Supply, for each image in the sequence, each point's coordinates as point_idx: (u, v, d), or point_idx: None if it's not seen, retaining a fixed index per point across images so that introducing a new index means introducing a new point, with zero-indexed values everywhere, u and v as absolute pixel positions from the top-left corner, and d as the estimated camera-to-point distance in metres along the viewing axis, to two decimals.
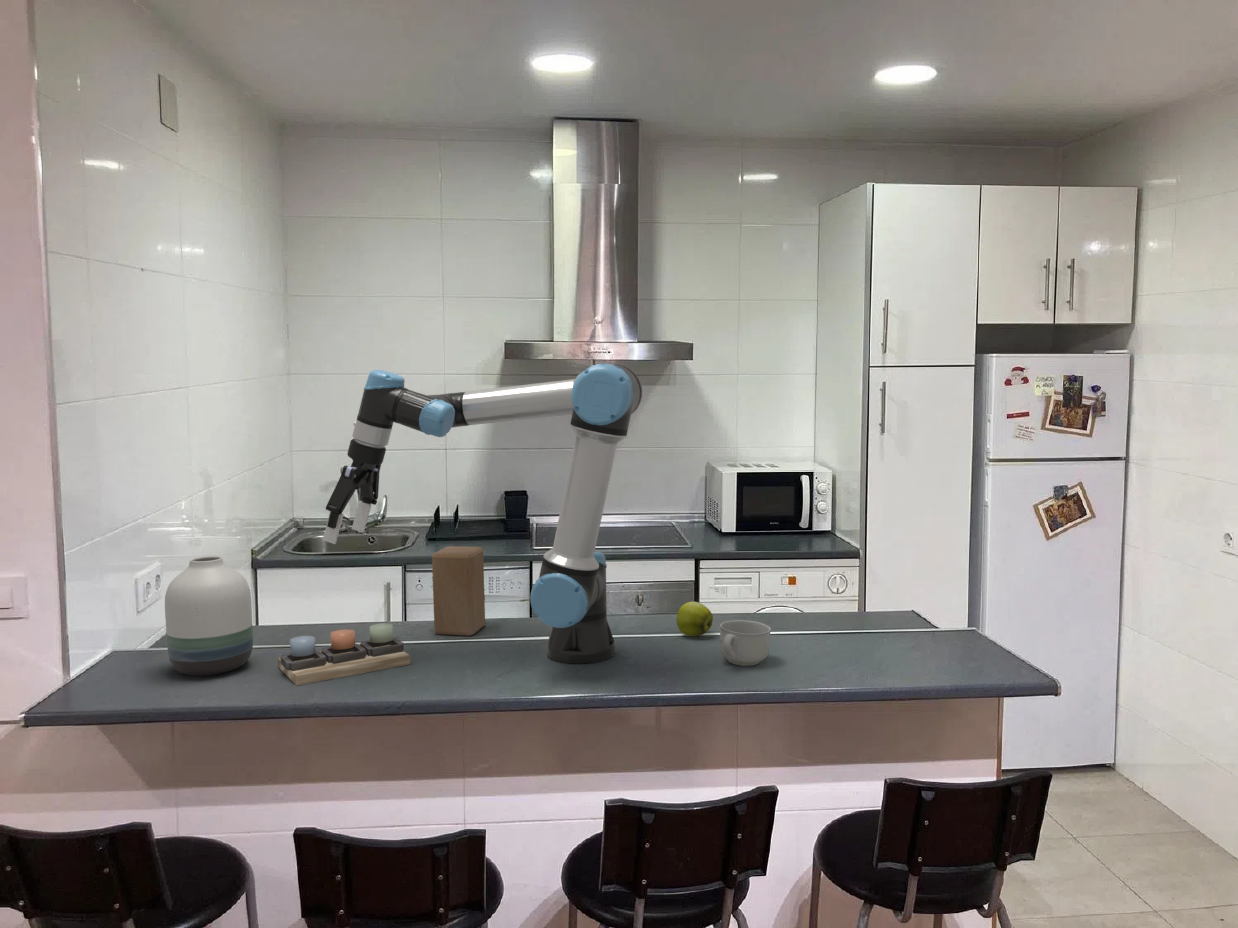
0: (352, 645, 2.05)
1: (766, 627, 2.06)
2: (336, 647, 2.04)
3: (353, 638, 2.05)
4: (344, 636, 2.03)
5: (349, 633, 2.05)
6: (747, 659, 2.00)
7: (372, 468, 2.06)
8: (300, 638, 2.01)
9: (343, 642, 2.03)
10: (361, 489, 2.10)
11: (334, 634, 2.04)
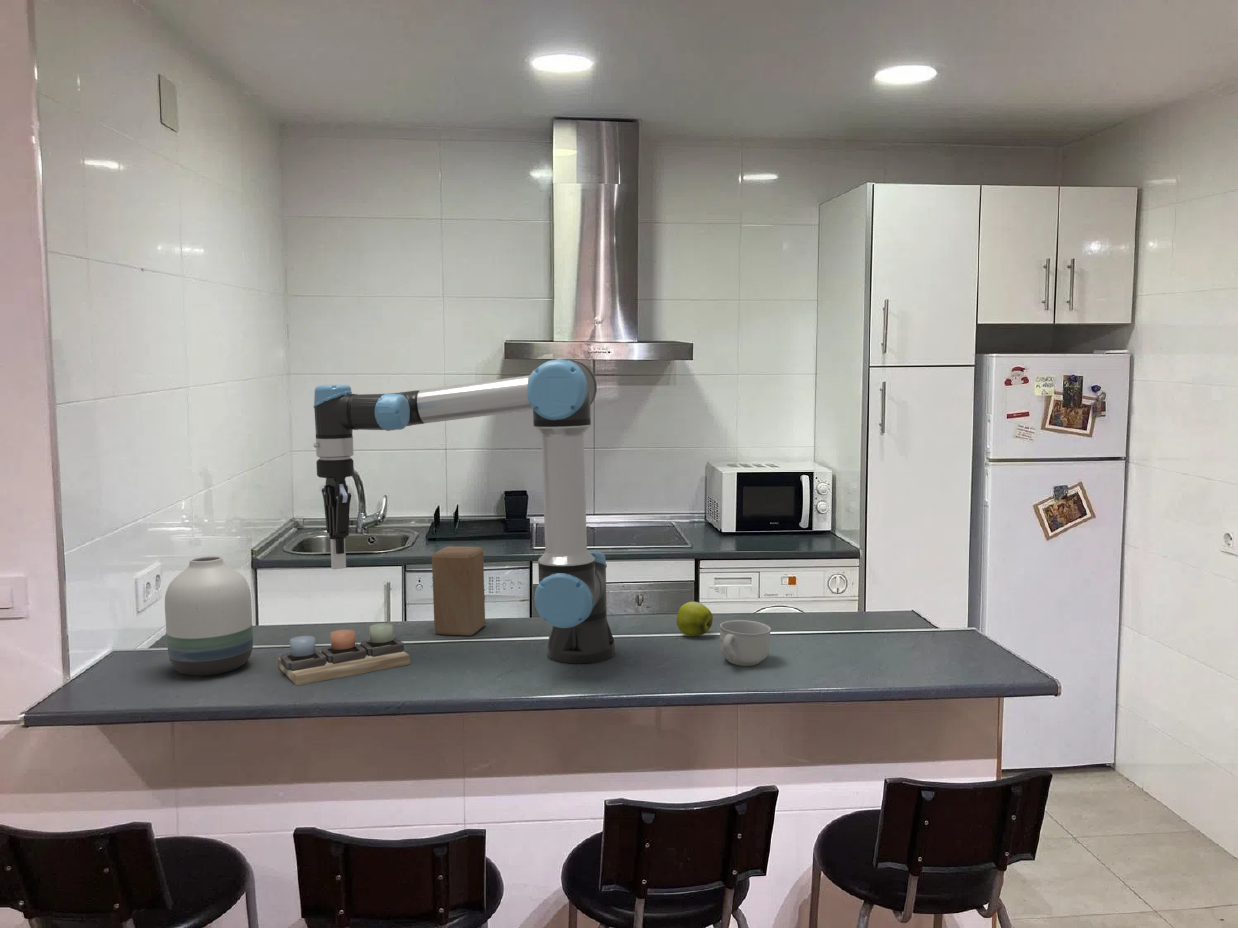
0: (352, 645, 2.05)
1: (766, 627, 2.06)
2: (336, 647, 2.04)
3: (353, 638, 2.05)
4: (344, 636, 2.03)
5: (349, 633, 2.05)
6: (747, 659, 2.00)
7: None
8: (300, 638, 2.01)
9: (343, 642, 2.03)
10: (331, 517, 2.03)
11: (334, 634, 2.04)
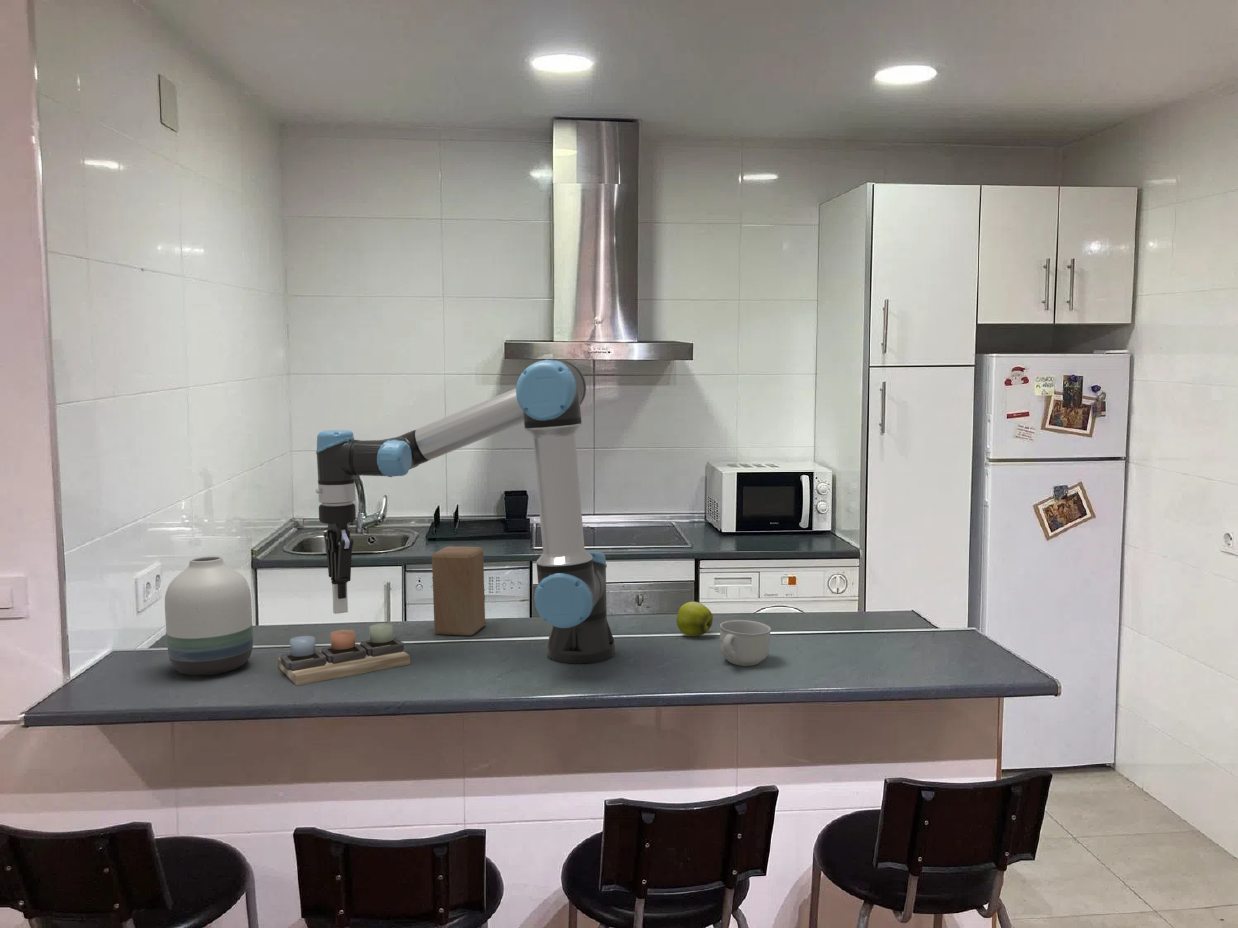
0: (352, 645, 2.05)
1: (766, 627, 2.06)
2: (336, 647, 2.04)
3: (353, 638, 2.05)
4: (344, 636, 2.03)
5: (349, 633, 2.05)
6: (747, 659, 2.00)
7: None
8: (300, 638, 2.01)
9: (343, 642, 2.03)
10: (333, 561, 2.04)
11: (334, 634, 2.04)
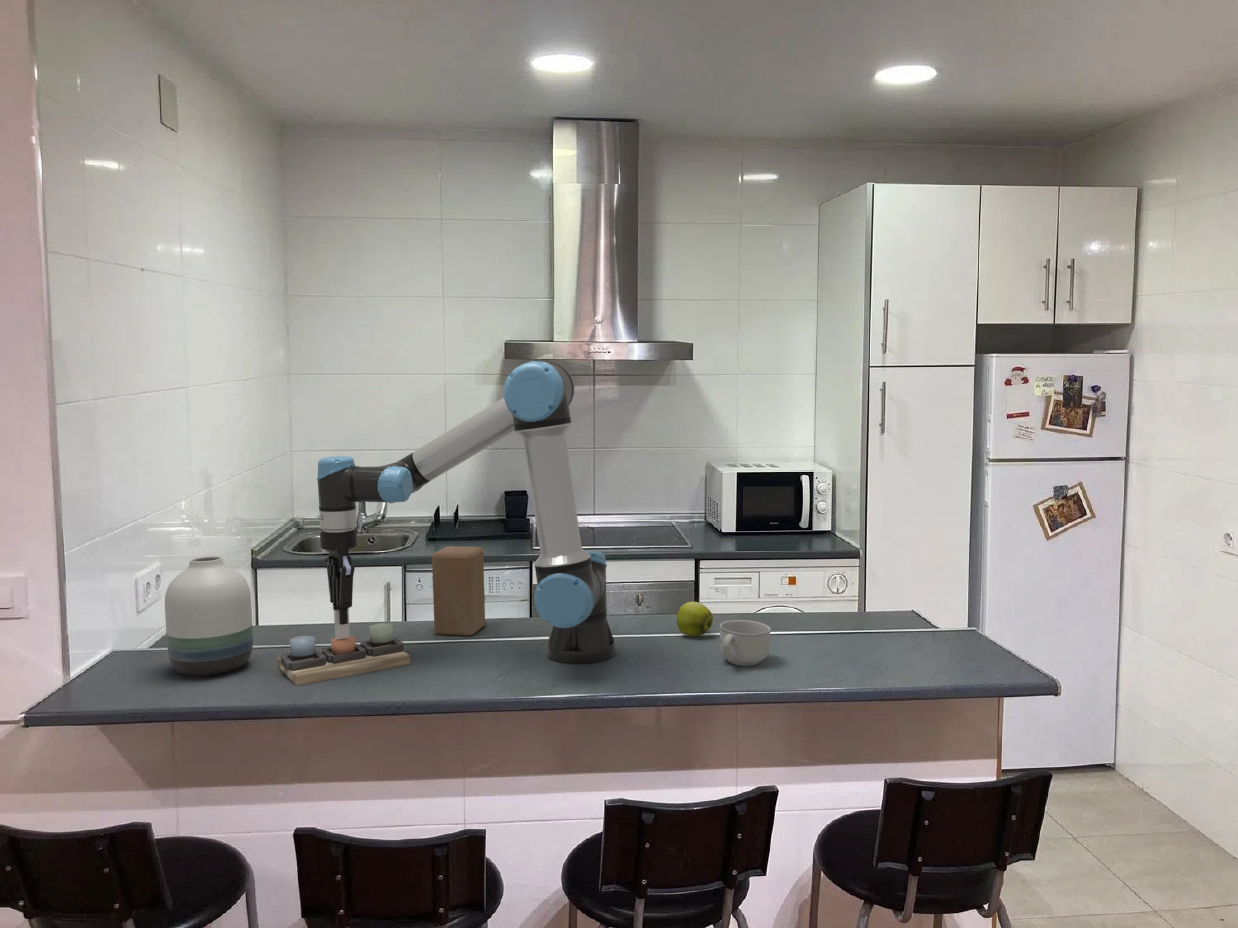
0: None
1: (766, 627, 2.06)
2: (336, 654, 2.04)
3: (353, 645, 2.05)
4: (345, 643, 2.04)
5: (349, 640, 2.05)
6: (747, 659, 2.00)
7: None
8: (300, 638, 2.01)
9: (343, 649, 2.04)
10: (335, 587, 2.05)
11: (334, 641, 2.04)
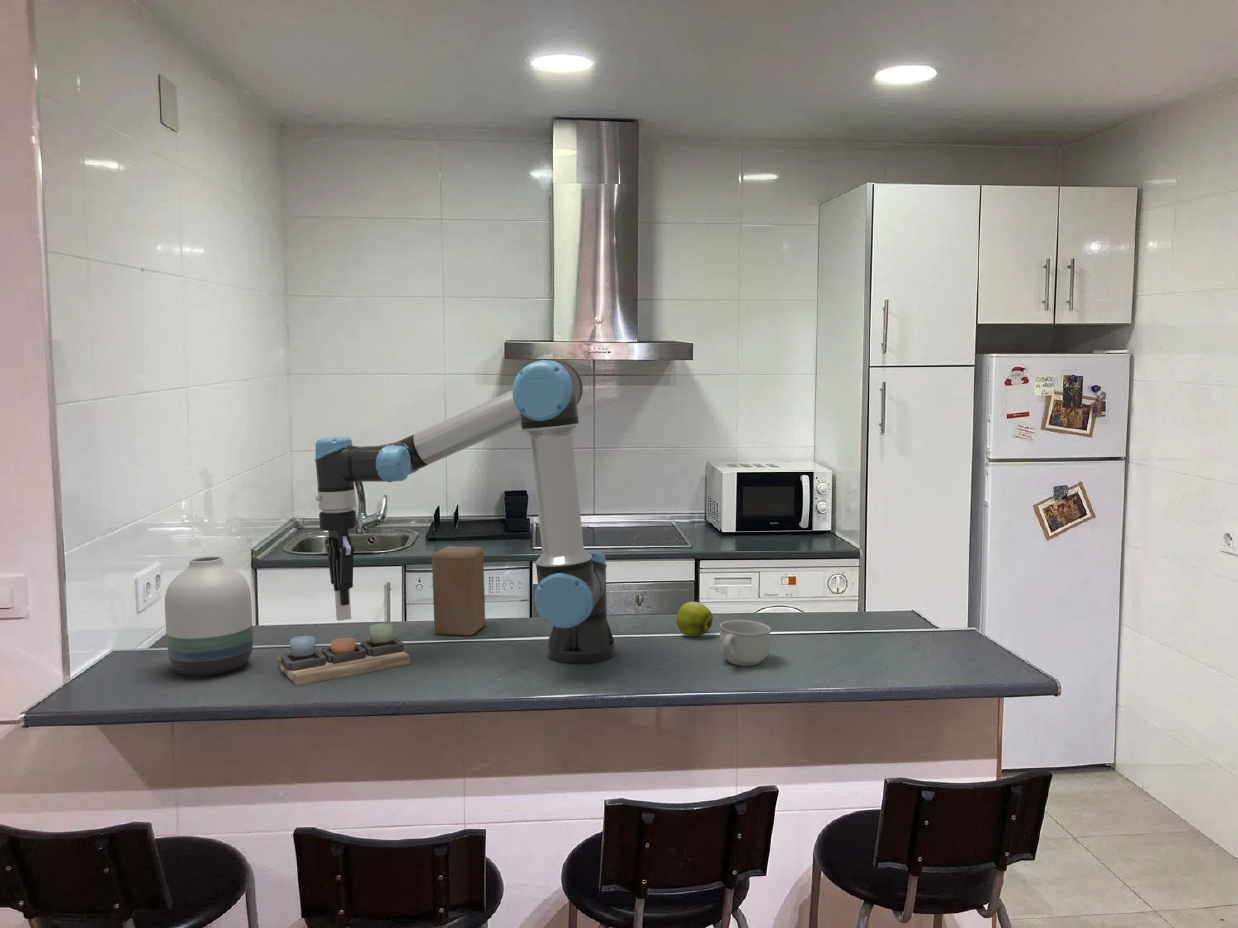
0: None
1: (766, 627, 2.06)
2: None
3: (353, 646, 2.05)
4: (345, 645, 2.04)
5: (349, 641, 2.05)
6: (747, 659, 2.00)
7: None
8: (300, 638, 2.01)
9: (343, 651, 2.04)
10: (335, 568, 2.04)
11: (334, 642, 2.04)
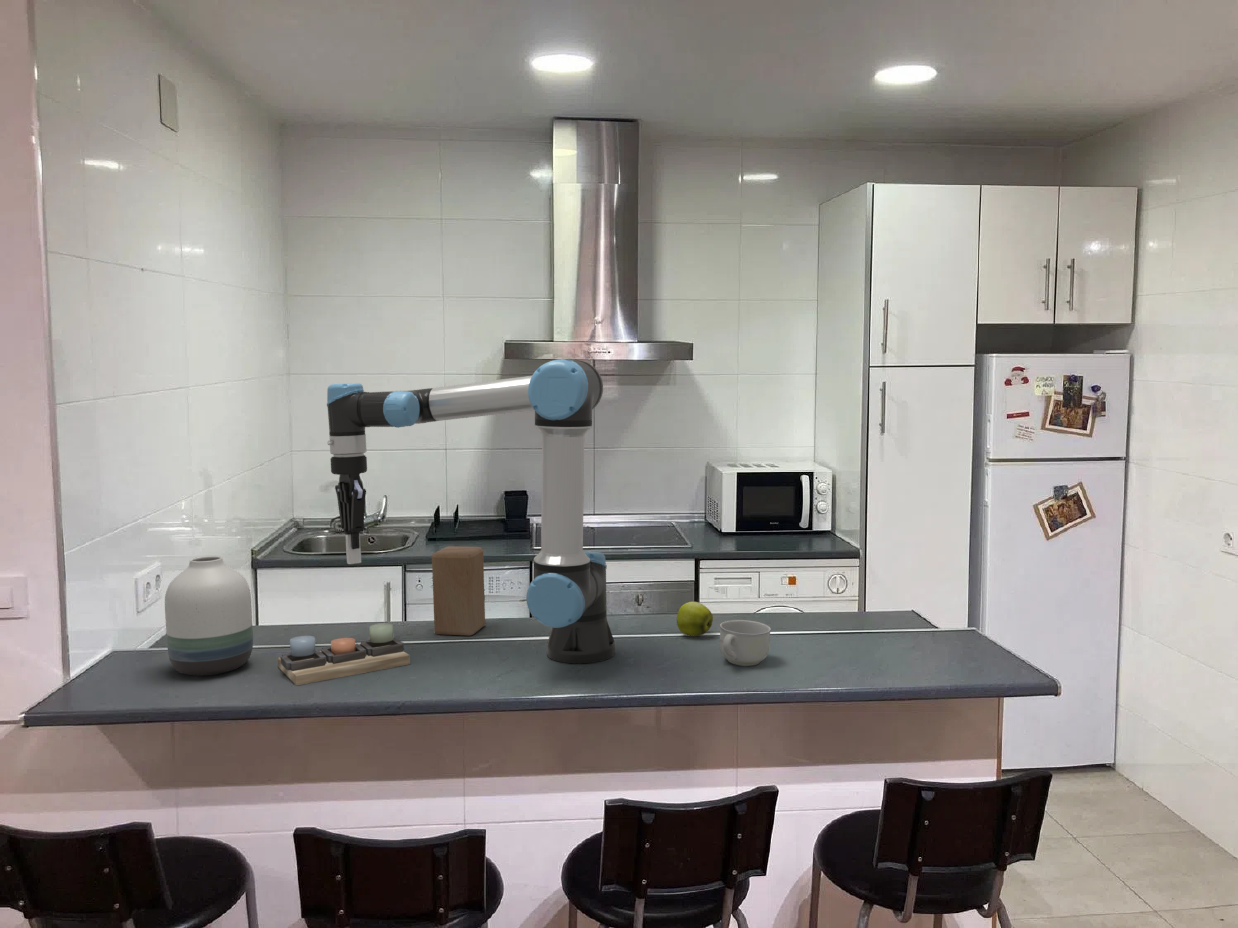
0: None
1: (766, 627, 2.06)
2: None
3: (353, 646, 2.05)
4: (345, 645, 2.04)
5: (349, 641, 2.05)
6: (747, 659, 2.00)
7: None
8: (300, 638, 2.01)
9: (343, 651, 2.04)
10: (346, 513, 2.08)
11: (334, 642, 2.04)
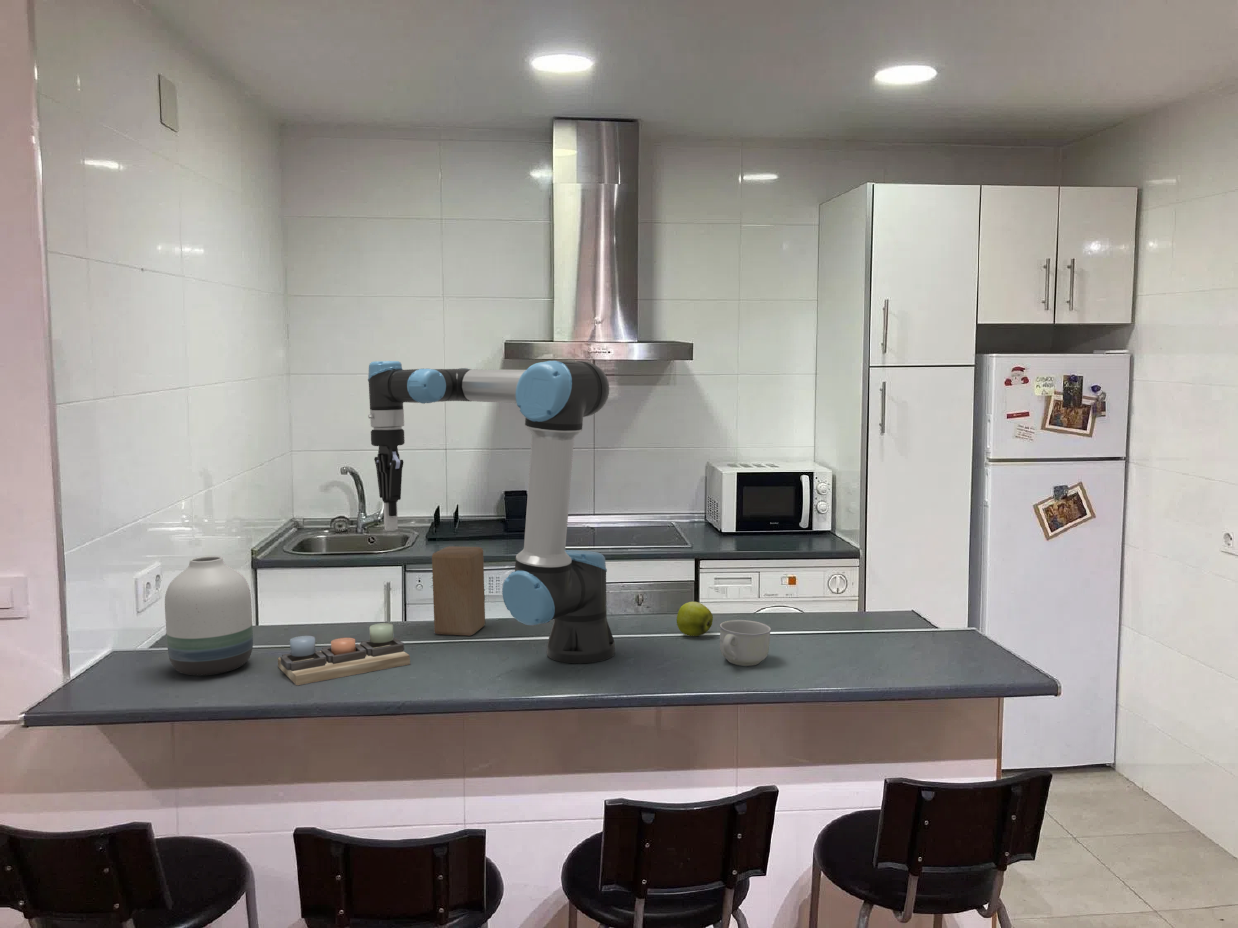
0: None
1: (766, 627, 2.06)
2: None
3: (353, 646, 2.05)
4: (345, 645, 2.04)
5: (349, 641, 2.05)
6: (747, 659, 2.00)
7: None
8: (300, 638, 2.01)
9: (343, 651, 2.04)
10: (384, 482, 2.22)
11: (334, 642, 2.04)
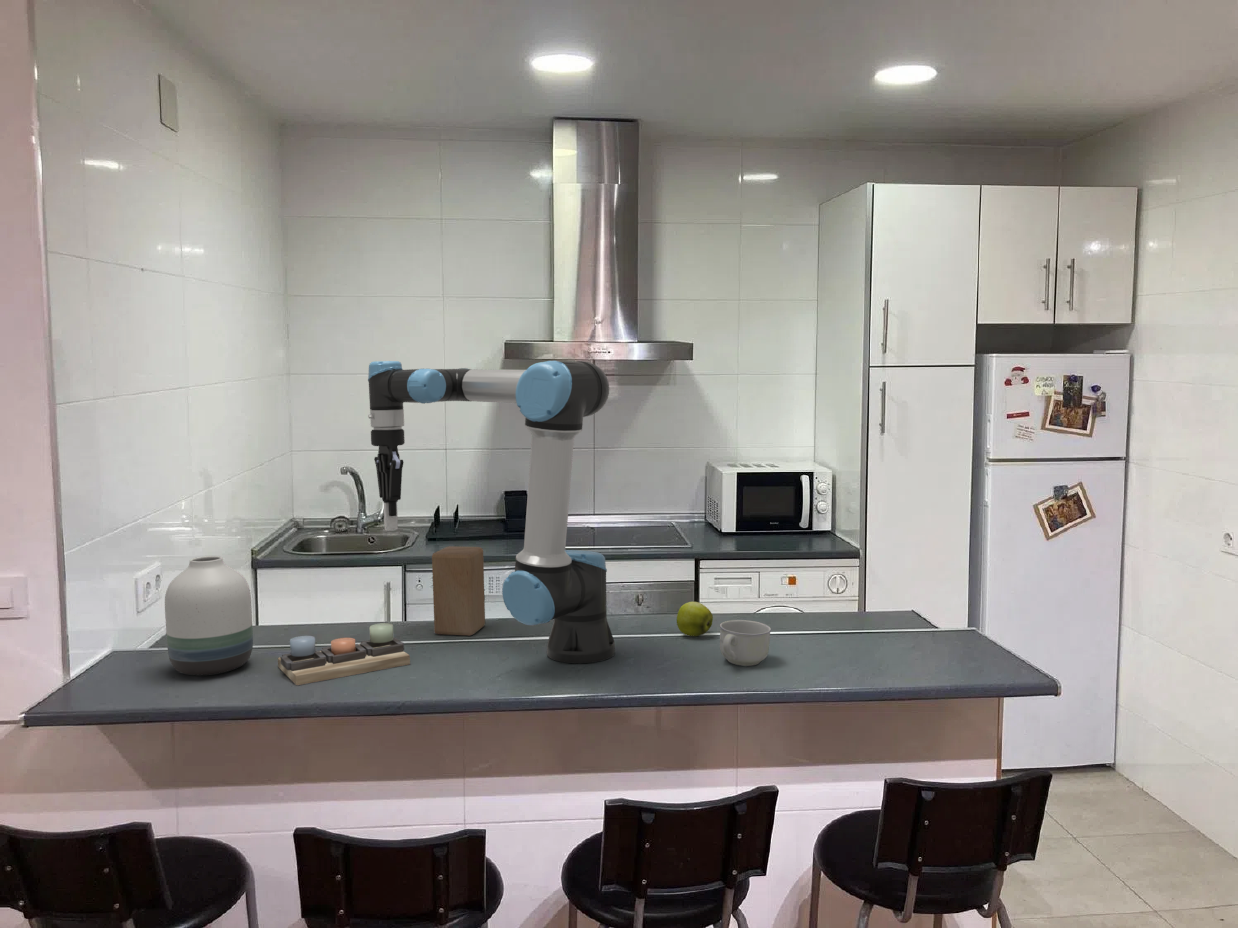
0: None
1: (766, 627, 2.06)
2: None
3: (353, 646, 2.05)
4: (345, 645, 2.04)
5: (349, 641, 2.05)
6: (747, 659, 2.00)
7: None
8: (300, 638, 2.01)
9: (343, 651, 2.04)
10: (384, 482, 2.22)
11: (334, 642, 2.04)
